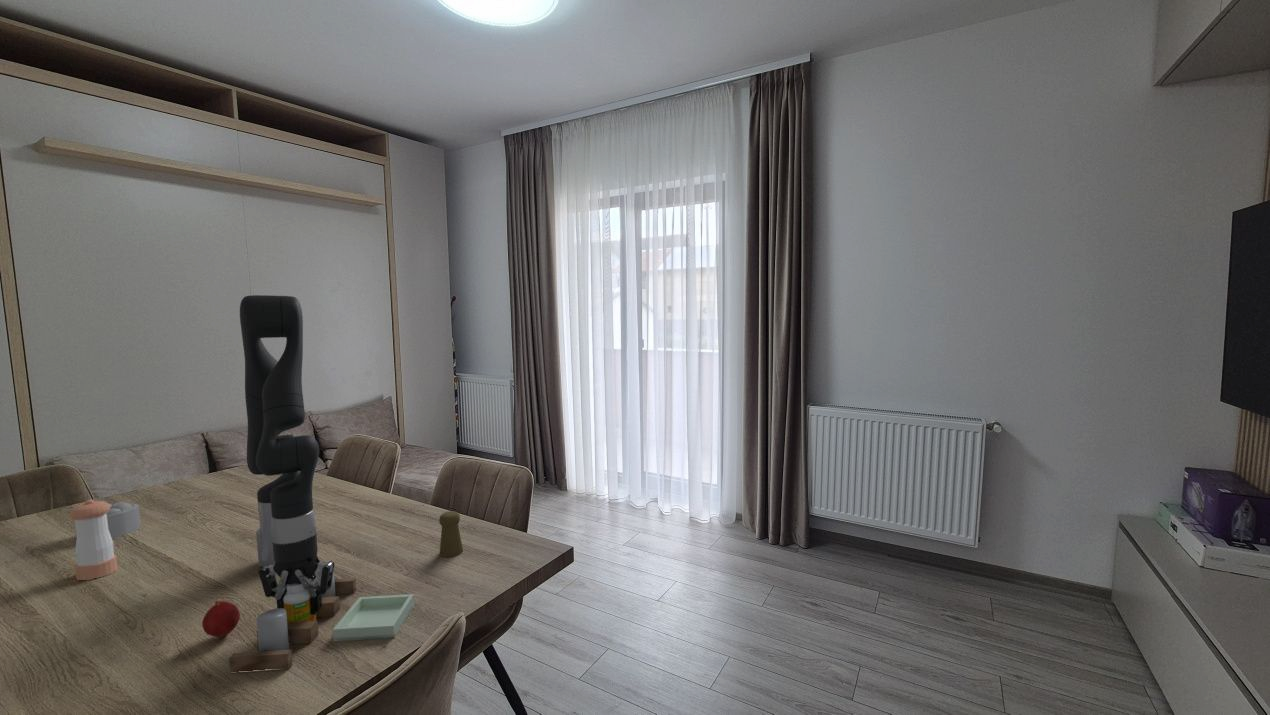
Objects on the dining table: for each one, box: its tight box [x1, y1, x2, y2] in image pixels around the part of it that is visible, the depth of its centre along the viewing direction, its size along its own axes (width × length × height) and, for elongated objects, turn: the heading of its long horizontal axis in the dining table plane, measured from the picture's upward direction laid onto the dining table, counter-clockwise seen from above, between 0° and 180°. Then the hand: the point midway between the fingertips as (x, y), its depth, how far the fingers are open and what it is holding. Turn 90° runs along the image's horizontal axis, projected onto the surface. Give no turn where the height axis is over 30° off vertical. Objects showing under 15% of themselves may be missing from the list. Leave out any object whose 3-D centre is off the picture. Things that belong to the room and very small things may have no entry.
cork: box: [438, 510, 464, 559], centre depth 139 cm, size 6×6×11 cm
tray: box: [332, 593, 415, 642], centre depth 108 cm, size 12×12×2 cm
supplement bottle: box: [283, 579, 317, 622], centre depth 107 cm, size 5×5×10 cm
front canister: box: [255, 607, 290, 652], centre depth 98 cm, size 5×5×8 cm
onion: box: [201, 599, 241, 639], centre depth 104 cm, size 6×6×8 cm
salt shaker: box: [69, 499, 118, 581], centre depth 130 cm, size 7×7×19 cm
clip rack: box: [228, 577, 357, 672], centre depth 107 cm, size 10×27×3 cm, turn 4°
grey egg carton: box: [106, 501, 142, 539], centre depth 155 cm, size 10×13×9 cm
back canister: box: [309, 568, 337, 597], centre depth 116 cm, size 5×5×8 cm
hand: (300, 612), depth 107 cm, fingers closed on supplement bottle, 5 cm apart
